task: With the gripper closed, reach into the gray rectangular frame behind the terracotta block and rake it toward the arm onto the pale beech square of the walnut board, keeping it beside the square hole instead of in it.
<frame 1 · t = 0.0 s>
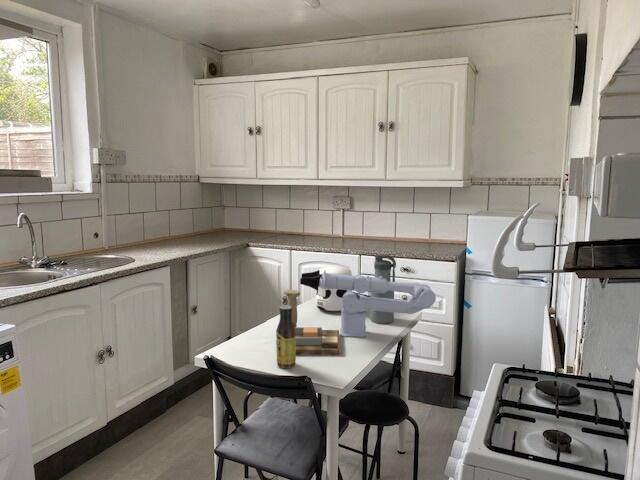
hand: (300, 278, 183), 22 cm above the table, tool horizontal, fingers open, 7 cm apart
water bottle: (382, 321, 201), on the table
block: (310, 339, 174), point 2 cm above the table, touching board
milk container: (334, 309, 218), on the table
sauce bottle: (286, 366, 156), on the table
gray rectangular frame: (302, 335, 174), on the board, point 3 cm above the table
handle: (292, 328, 192), on the table
board: (310, 344, 174), on the table
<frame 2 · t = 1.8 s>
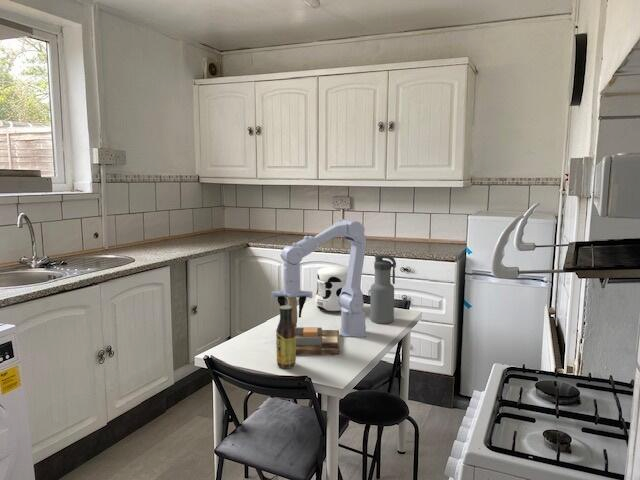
hand: (292, 316, 173), 10 cm above the table, tool pointing down, fingers open, 5 cm apart
nothing on the table moved.
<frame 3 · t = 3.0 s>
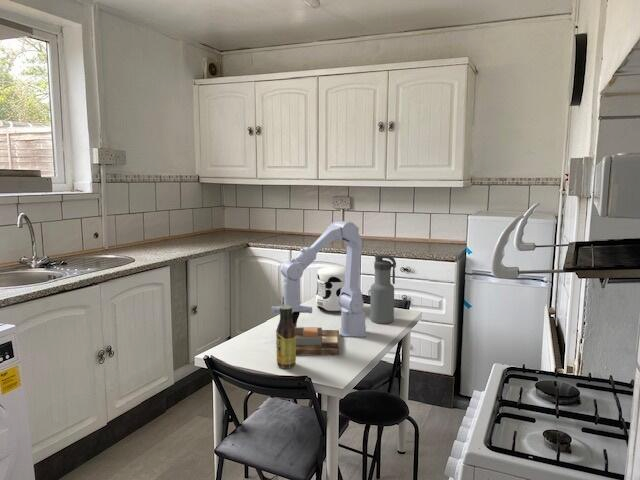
hand: (292, 331, 174), 5 cm above the table, tool pointing down, fingers closed
nothing on the table moved.
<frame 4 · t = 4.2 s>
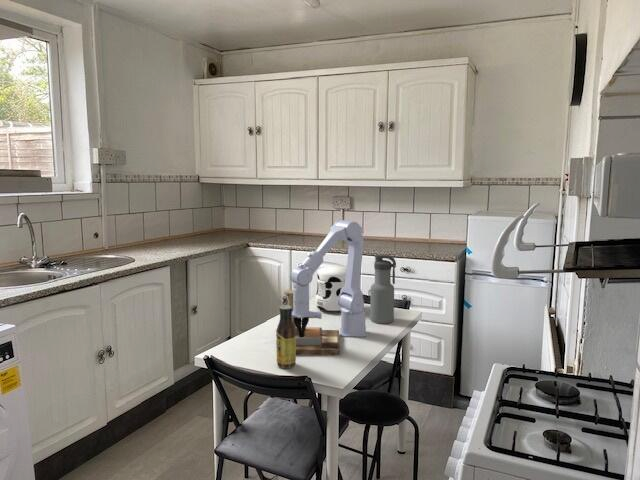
hand: (301, 337, 174), 3 cm above the table, tool pointing down, fingers closed
block: (312, 339, 174), point 2 cm above the table, touching board, gripper
everything else where it was.
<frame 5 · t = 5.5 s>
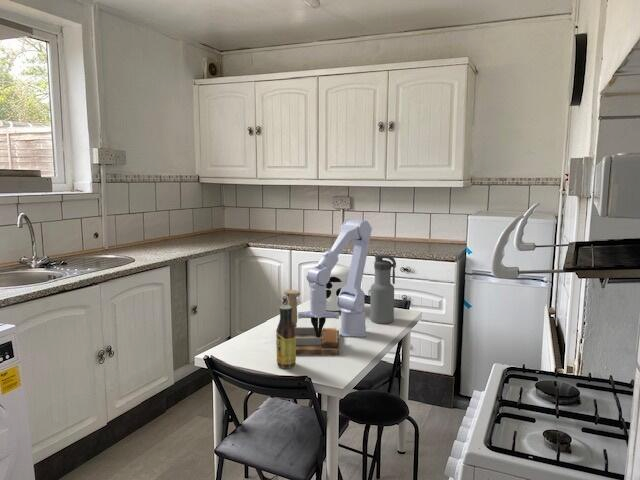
hand: (318, 337, 174), 3 cm above the table, tool pointing down, fingers closed
block: (329, 339, 174), point 2 cm above the table, touching board, gripper
everything else where it was.
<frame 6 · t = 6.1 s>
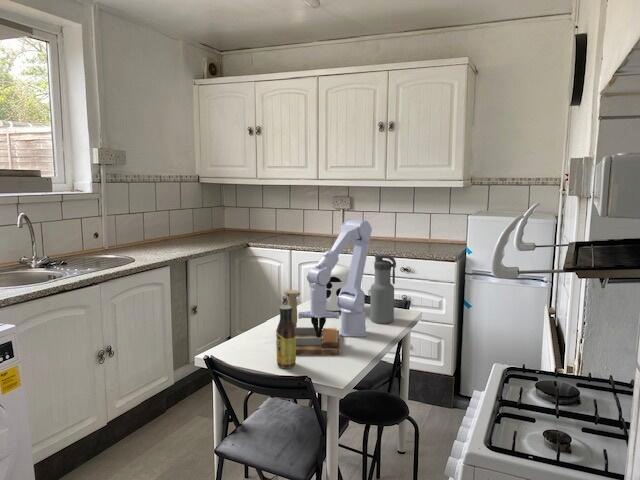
hand: (318, 337, 174), 3 cm above the table, tool pointing down, fingers closed
nothing on the table moved.
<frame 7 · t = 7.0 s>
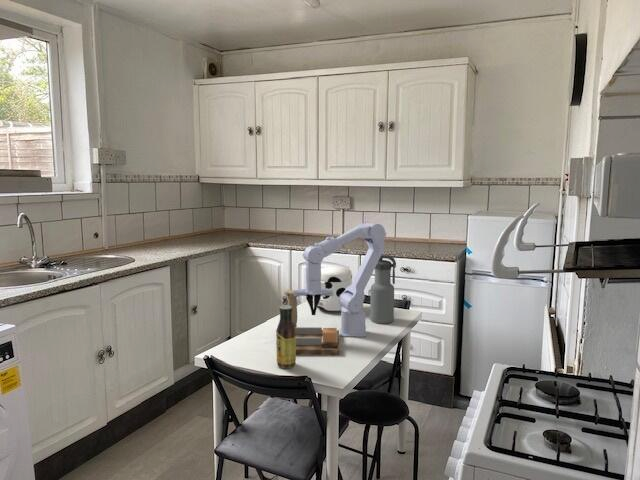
hand: (313, 314, 179), 9 cm above the table, tool pointing down, fingers closed
block: (329, 339, 174), point 2 cm above the table, touching board
everything else where it was.
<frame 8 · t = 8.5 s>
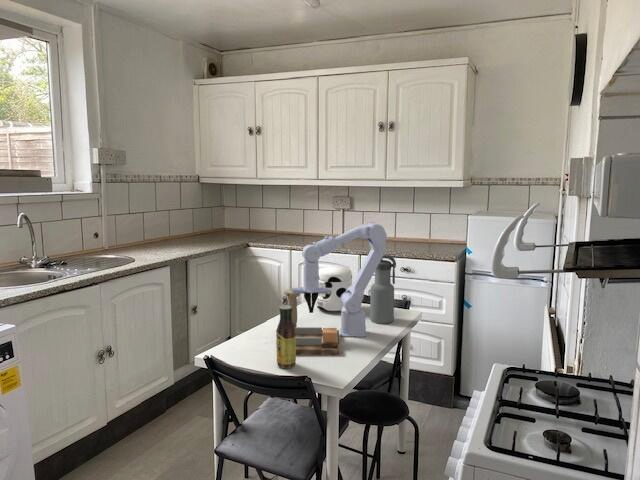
hand: (311, 312, 182), 9 cm above the table, tool pointing down, fingers closed
nothing on the table moved.
at the end: block 0.4 cm from the target spot, point 2.0 cm above the table; block tilted 0° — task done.
